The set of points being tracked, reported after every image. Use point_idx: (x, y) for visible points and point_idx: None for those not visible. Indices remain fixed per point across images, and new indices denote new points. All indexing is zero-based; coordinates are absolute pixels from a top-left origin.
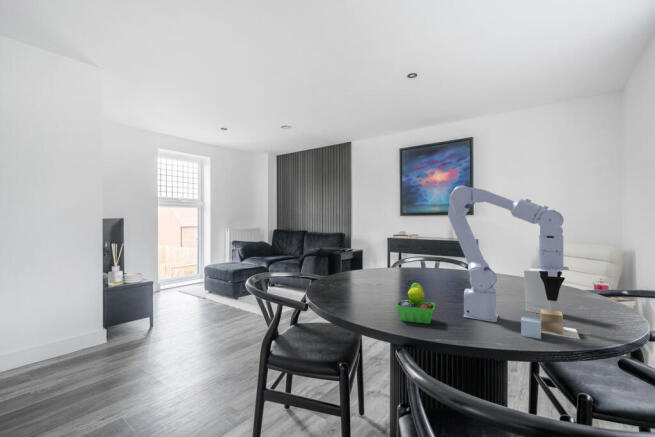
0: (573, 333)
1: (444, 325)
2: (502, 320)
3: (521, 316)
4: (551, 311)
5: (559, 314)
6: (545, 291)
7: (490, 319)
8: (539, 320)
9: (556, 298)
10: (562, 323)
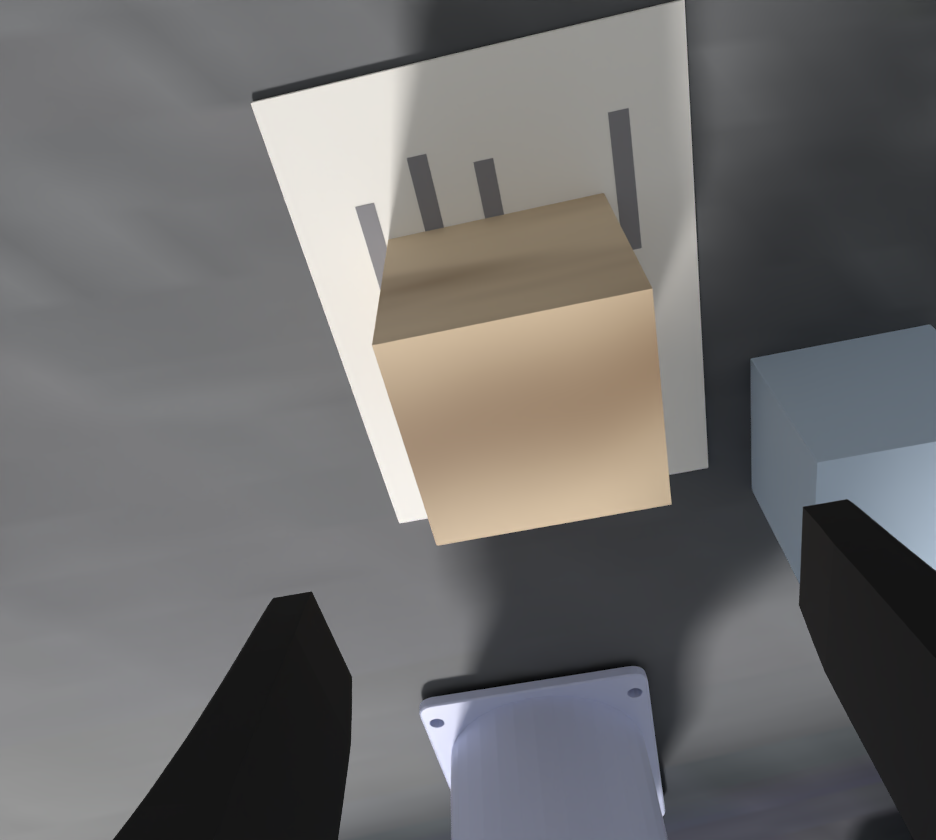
0: (490, 98)
1: None
2: (521, 648)
3: None
4: (475, 437)
5: (583, 337)
6: (347, 739)
7: (629, 705)
8: (913, 454)
9: (882, 539)
10: (629, 246)
